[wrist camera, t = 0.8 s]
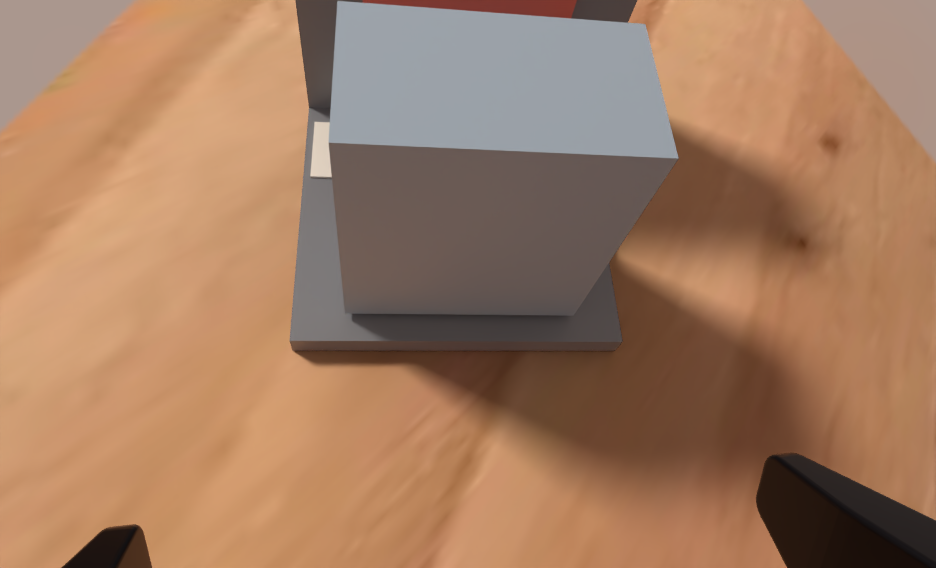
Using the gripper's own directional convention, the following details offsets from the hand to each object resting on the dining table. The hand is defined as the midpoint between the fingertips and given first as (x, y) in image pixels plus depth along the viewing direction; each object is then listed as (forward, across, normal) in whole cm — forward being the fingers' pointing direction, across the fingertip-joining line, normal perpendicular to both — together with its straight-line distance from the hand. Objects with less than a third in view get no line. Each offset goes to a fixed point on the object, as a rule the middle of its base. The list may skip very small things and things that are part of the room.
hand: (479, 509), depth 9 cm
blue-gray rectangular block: (+17, -3, +3) cm, 18 cm away
